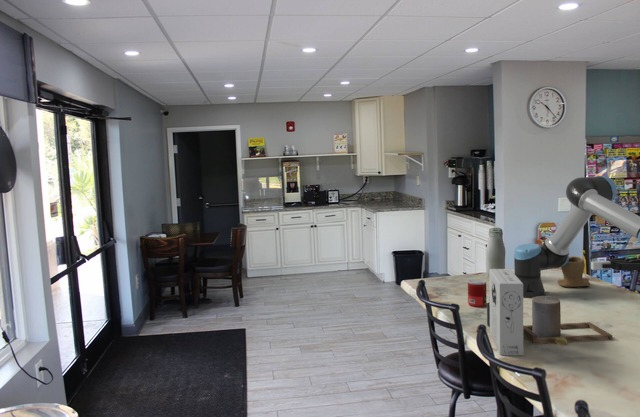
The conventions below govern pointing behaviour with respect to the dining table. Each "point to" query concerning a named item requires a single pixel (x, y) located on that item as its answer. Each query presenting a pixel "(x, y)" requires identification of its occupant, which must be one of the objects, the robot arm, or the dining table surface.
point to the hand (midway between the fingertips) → (592, 265)
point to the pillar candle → (546, 316)
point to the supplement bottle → (488, 313)
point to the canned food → (477, 293)
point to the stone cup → (574, 273)
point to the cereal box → (506, 311)
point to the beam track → (563, 340)
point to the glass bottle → (495, 250)
